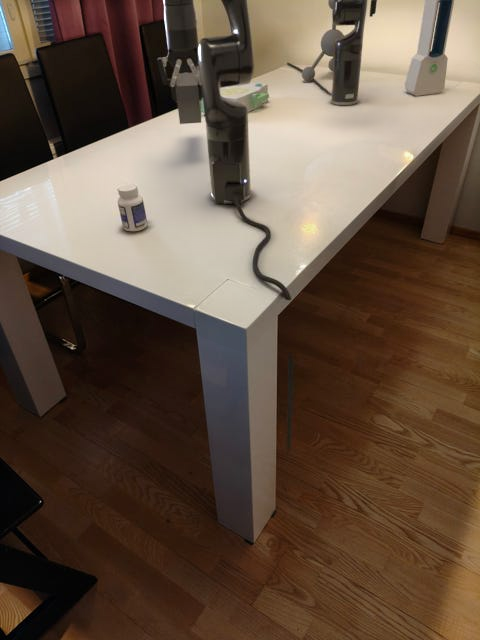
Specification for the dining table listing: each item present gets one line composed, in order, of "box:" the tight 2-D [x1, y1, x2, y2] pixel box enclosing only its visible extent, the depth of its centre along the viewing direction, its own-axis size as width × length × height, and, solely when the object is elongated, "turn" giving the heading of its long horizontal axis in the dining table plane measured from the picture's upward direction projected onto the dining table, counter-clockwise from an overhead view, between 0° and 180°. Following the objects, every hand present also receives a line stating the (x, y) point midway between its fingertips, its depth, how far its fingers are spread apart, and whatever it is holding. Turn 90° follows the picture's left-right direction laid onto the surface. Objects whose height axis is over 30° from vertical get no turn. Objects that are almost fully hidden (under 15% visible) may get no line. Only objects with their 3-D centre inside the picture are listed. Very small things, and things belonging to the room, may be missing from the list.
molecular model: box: [301, 0, 345, 82], centre depth 196 cm, size 24×22×30 cm
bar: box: [176, 65, 202, 125], centre depth 134 cm, size 23×6×9 cm, turn 3°
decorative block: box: [201, 82, 270, 114], centre depth 174 cm, size 26×6×20 cm
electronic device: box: [404, 0, 455, 97], centre depth 172 cm, size 12×8×30 cm, turn 105°
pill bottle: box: [117, 182, 148, 232], centre depth 102 cm, size 5×5×9 cm
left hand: (188, 100), depth 127 cm, fingers closed on bar, 5 cm apart
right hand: (355, 17), depth 135 cm, fingers open, 8 cm apart
